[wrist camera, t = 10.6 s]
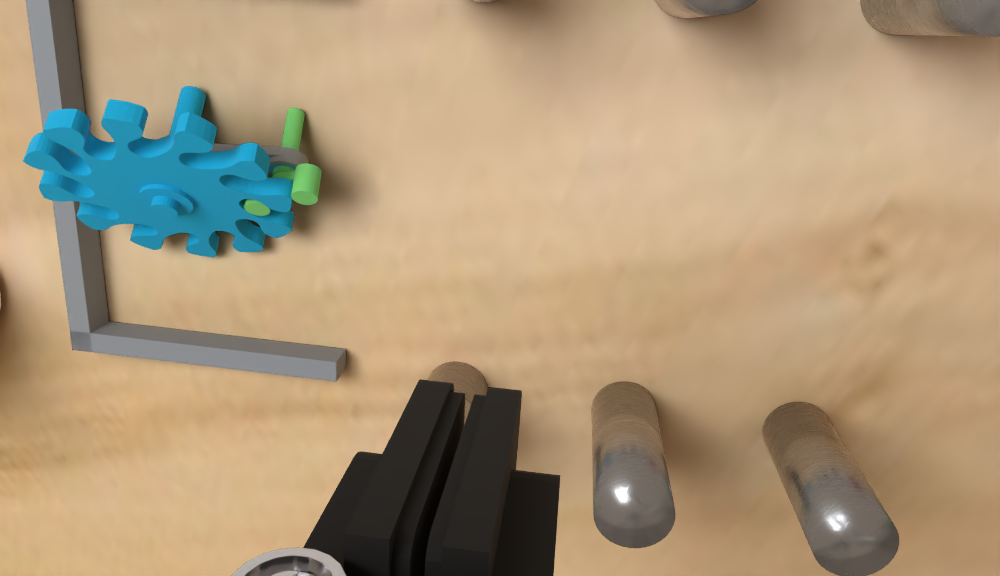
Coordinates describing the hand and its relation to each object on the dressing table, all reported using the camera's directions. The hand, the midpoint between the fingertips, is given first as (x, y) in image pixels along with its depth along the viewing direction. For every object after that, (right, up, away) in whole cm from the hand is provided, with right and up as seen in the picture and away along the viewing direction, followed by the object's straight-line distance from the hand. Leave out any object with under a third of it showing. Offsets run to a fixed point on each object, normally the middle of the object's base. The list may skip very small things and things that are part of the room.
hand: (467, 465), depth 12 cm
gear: (-12, +8, +21) cm, 26 cm away
